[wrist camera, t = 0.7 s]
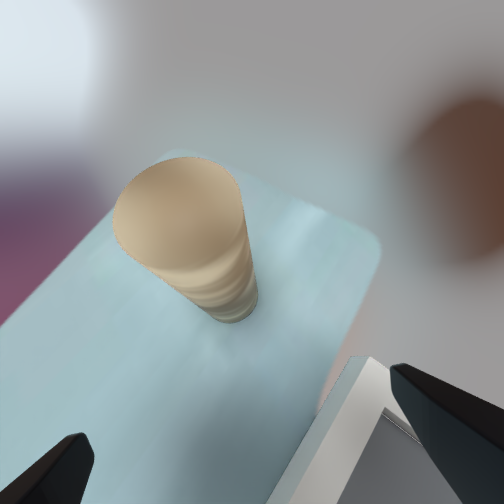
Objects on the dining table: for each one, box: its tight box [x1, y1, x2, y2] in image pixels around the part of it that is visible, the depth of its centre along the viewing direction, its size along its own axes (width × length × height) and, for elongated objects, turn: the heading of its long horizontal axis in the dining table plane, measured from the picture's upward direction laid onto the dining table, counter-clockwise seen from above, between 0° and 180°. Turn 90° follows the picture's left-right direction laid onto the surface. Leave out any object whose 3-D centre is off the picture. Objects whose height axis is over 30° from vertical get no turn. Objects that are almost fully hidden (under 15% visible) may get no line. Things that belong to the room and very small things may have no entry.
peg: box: [113, 157, 258, 323], centre depth 16 cm, size 5×5×14 cm
